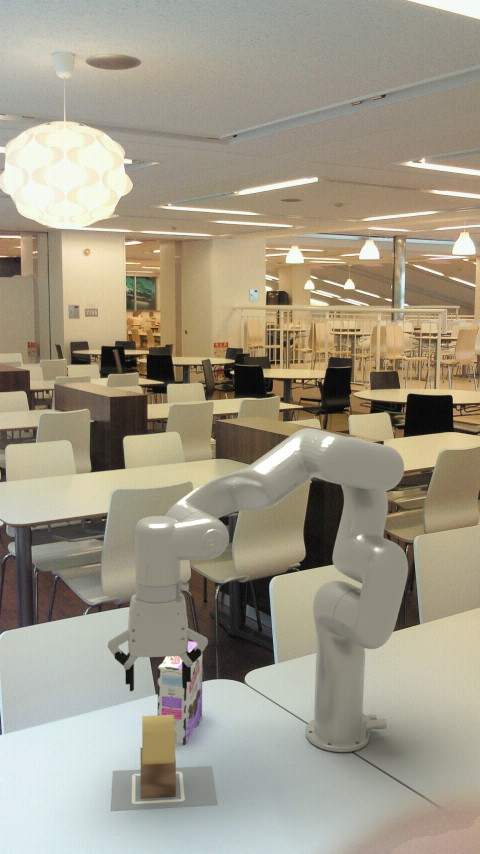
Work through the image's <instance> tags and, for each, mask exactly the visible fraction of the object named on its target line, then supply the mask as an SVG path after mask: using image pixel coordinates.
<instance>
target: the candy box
mask: <svg viewBox="0 0 480 854" xmlns="http://www.w3.org/2000/svg"><path fill="white" fill-rule="evenodd" d="M197 644H198V643H196V642H194V641H193V640H188V651H189V653H190V652H191V651H192V650H193V649H194V648H195V647H196V646H197ZM157 715H174V726H175V745H178V746H185V745H186V744H187V743H188V741H189V739H190V737H191V735H192V733H193V731H194V729H196V728H197V727H196V726H198V725H197V724H199V723H198V722H200V721H199V720H201V719H200V718H202V717H203V652H202V653H201V656H200V657H199V658H198V659H197V660H196V661H195V662H194V663H193V665H192V666H191V682H187V689H184V688H183V686H182V660H181V658H180V657H179V656H165V657H164V658H163V660H162V662H161V663H160V664H159V666H157ZM201 716H202V717H201Z"/></svg>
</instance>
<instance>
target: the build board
mask: <svg viewBox="0 0 480 854" xmlns="http://www.w3.org/2000/svg"><path fill="white" fill-rule="evenodd" d="M111 778H112V780H111V798H110V812H119V811H120V812H121V811H134V810H135V811H137V810H154V809H155V810H156V809H174V808H177V809H178V808H188V807H189V808H193V807H209V806H219V805H218V799H217V792H216V785H215V779H214V772H213V766H212V765H205V766H203V765H202V766H184V767H181V766H180V767H176V797H164V798H145V799H141V769H124V770H123V769H122V770H113V771H112V777H111Z"/></svg>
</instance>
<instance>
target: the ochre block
mask: <svg viewBox="0 0 480 854" xmlns="http://www.w3.org/2000/svg"><path fill="white" fill-rule="evenodd" d="M141 717H142V718H141V719H142V720H141V721H142V722H141V723H142V724H141V728H142V731H141V732H142V733H141V736H142V738H141V739H142V740H141V743H142V744H141V745H142V747H141V748H142V765H146V764H167V763H175V760H176V752H175V751H176V749H175V748H176V744H175V726H174V715H158V714H157V715H142V716H141Z"/></svg>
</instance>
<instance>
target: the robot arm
mask: <svg viewBox="0 0 480 854" xmlns="http://www.w3.org/2000/svg"><path fill="white" fill-rule="evenodd" d="M404 473H405V462H404V459H403V457H402V456H401V454H400V452H398V450H397V449H395V448H393V447H391V446H389V445H386V444H382V443H377V442H374V441H370V440H367V439H364V438H363V439H361V438H359V437H354V436H345V435H341V434H336V433H333V432H329V431H326V430H322V429H321V430H320V429H317V428H310V427H309V428H307V427H306V428H302V429H299V430H297V431H295V432H294V433H293V434H291V435H290V436H288V437H287V438H285V439H284V440H283V441H281V442H280V443H278V444H277V445H276V446H275V447H273V448H272V449H270V450H269V451H267V452H266V453H265V454H264V455H262V456H261V457H259V458H258V459H256V460H255V461H254V462H253V463H251V464H249V465H248V466H246V467H245V468H242V469H239V470H236V471H233V472H231V473H228V474H224V475H222V476H220V477H217V478H215V479H212V480H209V481H208V482H205V483H204V484H201V485H200V486H198V487H196V488H195V489H193V490H192V491H190V492H188V493H187V494H186V495H185V496H183V497H182V498H181V499H179V500H177V502H176V503H174V504H173V505H172V506H171V507H170V508H169V509H168V511H166V513H165V515H153V516H152V515H151V516H147V517H143V518H141V519H140V520H138V522H137V523H136V525H135V529H134V534H135V535H134V536H135V539H134V542H135V543H134V545H135V547H134V550H135V551H134V552H135V553H134V555H135V557H134V558H135V594H132V596H131V597H130V603H129V609H128V624H127V626H128V627H127V629H126V630H125V631H123V632H122V633H120V634H118V635H117V636H115V637H114V638H111V639H110V640H109V641H108V642H107V648H108V649H109V651H110V653H111V654H112V656H113V657H114V659H115V660H116V661H117V662H118V663H120V665H122V666H123V669H124V670H125V671H124V672H125V685H129V692H133V691H135V662H136V661H137V659H138V658H159V657H161V658H162V657H164V658H165V657H166V656H179V657H180V658H181V660H182V686H183V688H184V689H187V682H191V666H192V665H193V663H194V662H195V661H196V660H197V659H198V658H199V657H200V656H201V653H202V654H203V652H204V651H205V649H206V647H207V646H208V644H209V640H208V638H207V637H206V636H205V635H202V634H201V633H199V632H197V631H195V630H193V629H191V628H189V625H188V622H189V621H188V612H187V611H188V610H187V603H186V598H185V597H186V596H185V595H184V593H183V592H185V591H189V590H190V583H189V582H185V581H183V580H181V561H207V560H213V559H215V558H217V557H219V556H221V555H222V554H223V553H224V552H225V551H226V550H227V547H228V546H229V543H230V533H229V532H230V531H229V530H228V528H227V526H226V525H225V523H223V521H222V520H220V518H222V517H225V516H227V515H229V514H233V513H236V512H241V511H251V510H252V511H254V510H255V511H257V510H264V509H270V508H273V507H275V506H277V505H279V504H280V503H281V502H282V501H284V500H285V499H287V497H289V496H290V495H291V494H292V493H294V492H295V491H297V490H298V489H299V488H300V487H302V486H303V485H304V484H306V483H307V482H309V481H310V480H311V479H313V478H317V479H319V480H322V481H325V482H329V483H333V484H337V485H340V486H341V489H342V493H343V507H342V513H341V518H340V521H339V527H338V530H337V533H336V539H335V542H334V546H333V552H332V563H333V564H332V565H334V567H335V569H336V570H337V571H338V572H339V573H341V574H343V575H344V576H346V577H348V578H350V579H351V580H354V581H355V582H358V583H359V584H361V588H360V587H358V586H355V585H353V584H351V583H349V582H345V581H343V580H330V581H328V582H325V583H324V584H322V585H321V586H320V587H319V588H318V590H317V591H316V592H315V595H314V597H313V601H312V602H313V603H312V615H313V616H312V617H313V624H314V628H315V636H316V638H315V639H316V643H315V644H316V648H315V649H316V657H315V678H314V679H315V681H314V682H315V683H314V708H313V710H314V711H313V712H314V713H313V714H314V715H313V719H312V720H310V722H308V724H307V725H306V727H305V735H306V738H307V740H308V741H309V743H311V744H312V745H314V746H315V747H317V748H318V749H319V748H320V749H322V750H324V751H325V750H326V751H329V752H334V753H348V752H355V751H359V750H360V749H363V748H365V746H366V745H368V744H369V742H370V735H371V733H370V732H371V731H372V730H386V729H387V720H386V719H385V718H379V719H378V718H377V714H373V713H372V714H365V713H364V711H363V710H364V693H365V692H364V688H365V686H364V685H365V667H366V649H367V650H375V649H379V648H381V647H382V646H384V645H386V643H387V642H388V641H389V640H390V638H391V636H392V635H393V632H394V630H395V627H396V623H397V621H398V620H397V619H398V615H399V612H400V609H401V604H402V600H403V596H404V592H405V588H406V584H407V580H408V574H409V563H408V557H407V555H406V553H405V551H404V549H403V548H402V547H401V546H400V545H399V544H398V543H396V542H394V541H392V540H389V539H388V538H386V537H385V538H384V533H385V527H386V521H387V516H388V511H389V502H388V494H387V491H390V490H392V489H394V488H396V486H397V485H399V483H400V482H401V480H402V479H403V476H404V475H405V474H404ZM189 640H190V641H193V642H196V643H198V644H197V646H196V647H195V648H194V649H193V650H192V651H191V652H190V653H189V651H188V641H189ZM126 642H127V647H128V652H127V653H125V652H123V650H121V649H120V646H121V645H123V644H124V643H126Z"/></svg>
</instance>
